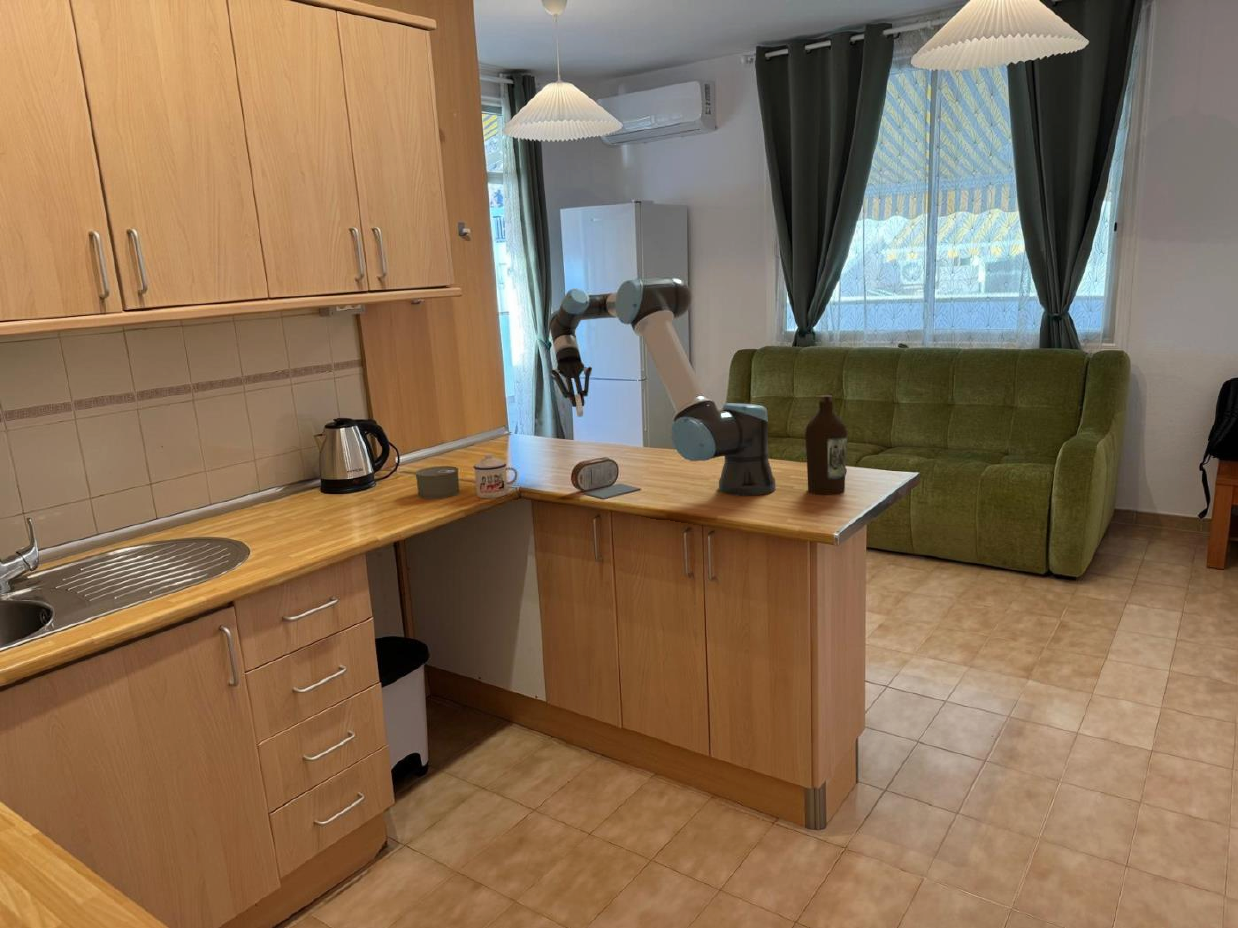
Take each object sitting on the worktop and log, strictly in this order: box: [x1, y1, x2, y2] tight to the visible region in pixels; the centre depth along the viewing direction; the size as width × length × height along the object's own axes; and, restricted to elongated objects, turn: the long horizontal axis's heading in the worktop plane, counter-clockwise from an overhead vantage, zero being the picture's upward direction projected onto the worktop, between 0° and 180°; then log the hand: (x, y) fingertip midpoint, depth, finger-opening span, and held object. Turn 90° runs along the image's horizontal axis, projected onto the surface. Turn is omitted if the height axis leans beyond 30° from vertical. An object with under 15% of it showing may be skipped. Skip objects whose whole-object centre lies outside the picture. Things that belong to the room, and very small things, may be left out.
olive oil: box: [804, 394, 848, 495], centre depth 226 cm, size 11×11×25 cm
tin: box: [570, 456, 620, 492], centre depth 243 cm, size 15×3×8 cm, turn 127°
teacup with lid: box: [473, 453, 519, 499], centre depth 243 cm, size 12×9×12 cm
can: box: [415, 465, 461, 500], centre depth 248 cm, size 12×12×7 cm
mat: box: [583, 483, 642, 500], centre depth 240 cm, size 9×13×1 cm
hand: (580, 414), depth 260 cm, fingers closed
